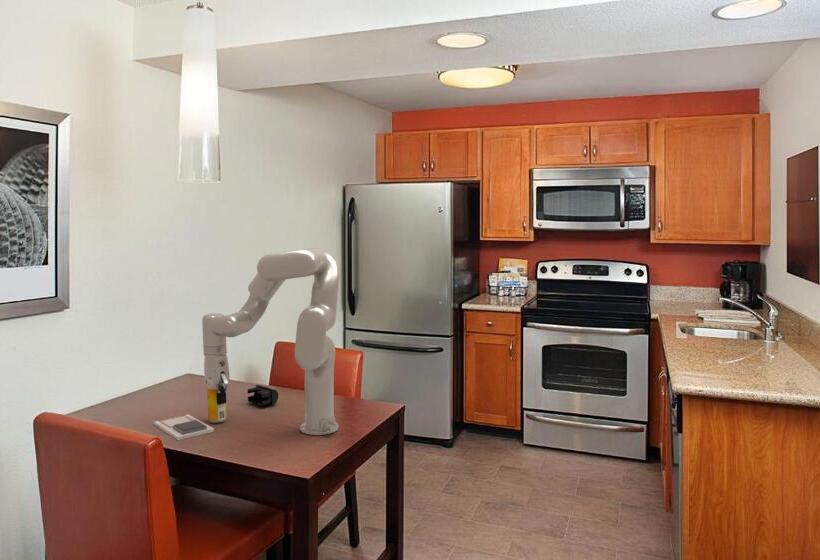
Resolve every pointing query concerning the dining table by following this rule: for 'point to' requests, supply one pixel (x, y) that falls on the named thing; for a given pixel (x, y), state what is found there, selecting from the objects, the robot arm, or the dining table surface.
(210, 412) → the beer can
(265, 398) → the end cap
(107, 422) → the dining table surface
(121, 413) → the dining table surface
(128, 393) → the dining table surface
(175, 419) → the stamping board
